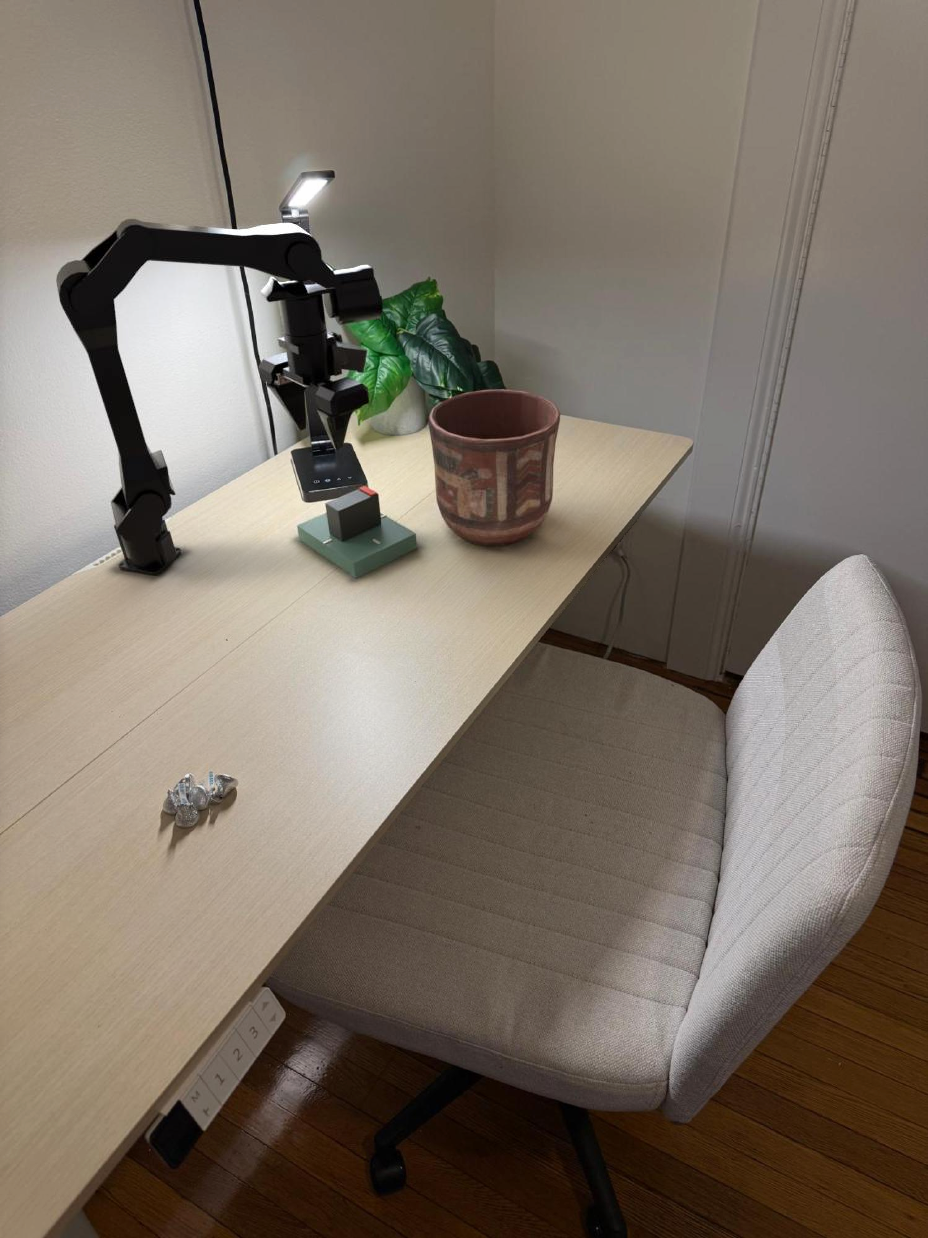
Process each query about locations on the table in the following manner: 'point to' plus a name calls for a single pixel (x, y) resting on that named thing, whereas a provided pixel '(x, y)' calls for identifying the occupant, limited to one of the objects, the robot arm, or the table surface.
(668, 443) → the table surface
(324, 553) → the green flat block
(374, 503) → the block
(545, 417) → the pottery
